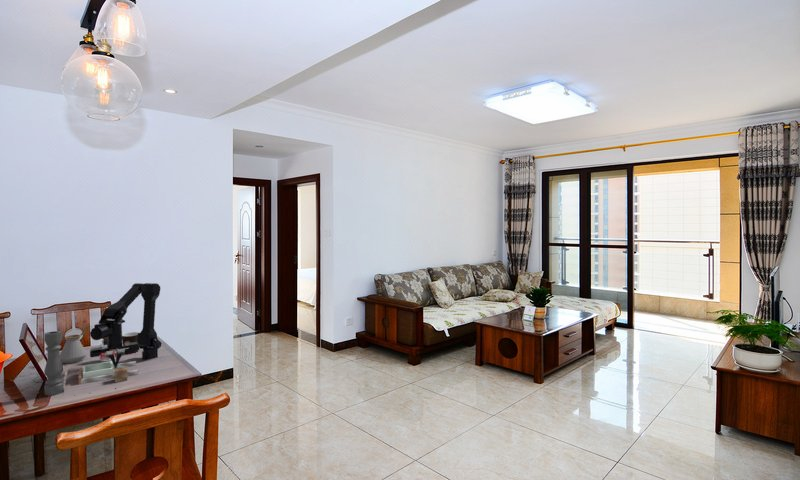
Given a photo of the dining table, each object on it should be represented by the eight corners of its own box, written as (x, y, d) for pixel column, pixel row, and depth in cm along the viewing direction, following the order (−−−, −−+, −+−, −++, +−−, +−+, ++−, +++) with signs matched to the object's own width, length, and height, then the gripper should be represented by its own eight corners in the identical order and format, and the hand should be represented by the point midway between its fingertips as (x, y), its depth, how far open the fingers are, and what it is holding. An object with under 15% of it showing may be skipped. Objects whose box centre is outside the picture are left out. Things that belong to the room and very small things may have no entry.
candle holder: (51, 390, 177) (50, 330, 177) (67, 389, 178) (66, 330, 177) (40, 395, 171) (39, 334, 170) (56, 395, 172) (55, 334, 171)
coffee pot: (78, 364, 210) (78, 334, 210) (53, 365, 208) (52, 335, 208) (102, 351, 231) (101, 324, 231) (79, 352, 229) (78, 325, 229)
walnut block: (126, 380, 189) (126, 366, 189) (127, 383, 186) (127, 369, 186) (114, 382, 187) (114, 368, 187) (115, 385, 183) (114, 371, 183)
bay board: (135, 367, 207) (135, 359, 206) (138, 376, 194) (138, 368, 194) (79, 376, 194) (79, 367, 194) (78, 387, 181) (78, 377, 181)
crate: (112, 369, 199) (112, 361, 199) (113, 377, 190) (113, 368, 190) (83, 374, 193) (83, 365, 193) (82, 382, 183) (82, 373, 183)
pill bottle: (100, 362, 213) (99, 341, 213) (100, 359, 218) (99, 338, 218) (114, 360, 216) (114, 339, 216) (114, 357, 221) (114, 336, 221)
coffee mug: (144, 351, 233) (144, 333, 233) (129, 355, 225) (129, 336, 225) (128, 348, 237) (128, 331, 237) (113, 353, 229) (113, 334, 229)
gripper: (136, 327, 206) (137, 359, 207) (89, 333, 195) (90, 367, 196) (138, 332, 197) (139, 365, 198) (89, 339, 186) (90, 373, 187)
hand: (115, 367), depth 195 cm, fingers closed
